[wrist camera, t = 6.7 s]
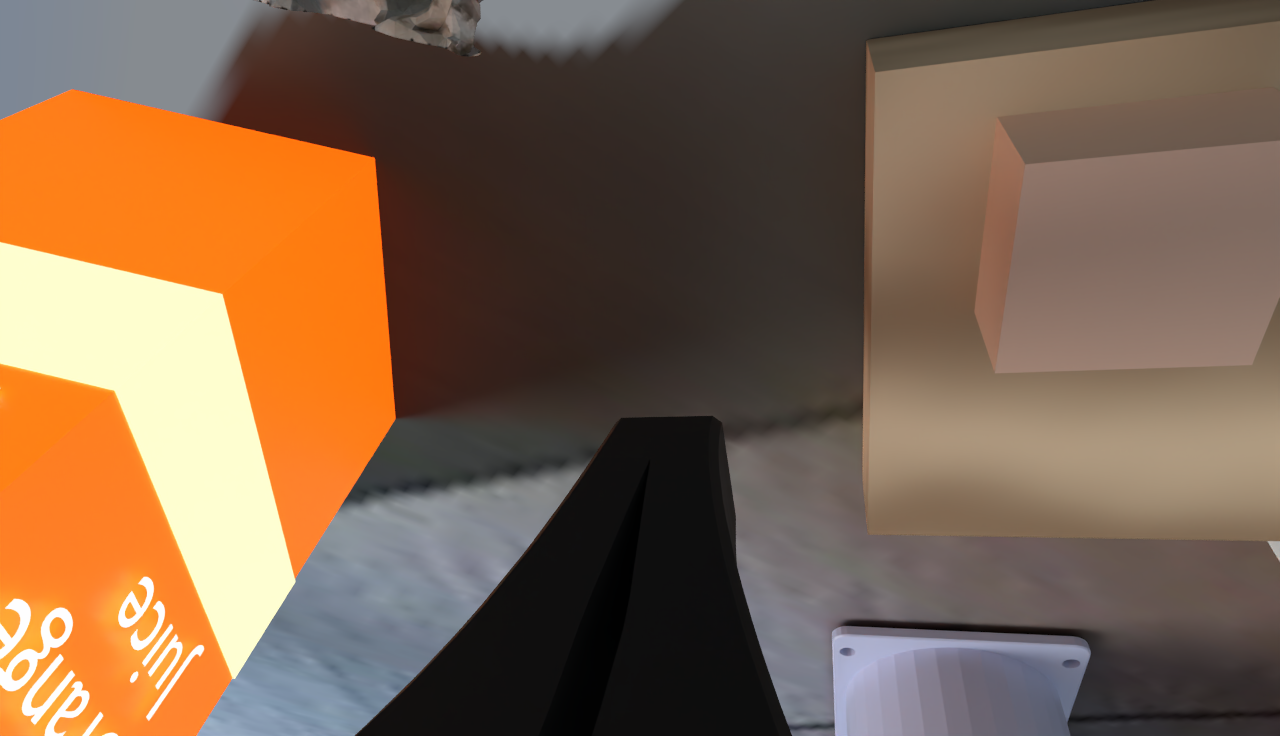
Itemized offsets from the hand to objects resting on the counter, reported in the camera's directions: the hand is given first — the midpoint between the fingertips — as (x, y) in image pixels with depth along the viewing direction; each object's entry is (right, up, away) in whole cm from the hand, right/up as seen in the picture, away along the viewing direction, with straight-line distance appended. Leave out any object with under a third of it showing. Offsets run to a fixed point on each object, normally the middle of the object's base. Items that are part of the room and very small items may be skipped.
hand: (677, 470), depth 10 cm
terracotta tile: (+8, +4, +3) cm, 9 cm away
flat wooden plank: (+10, +3, +6) cm, 12 cm away
